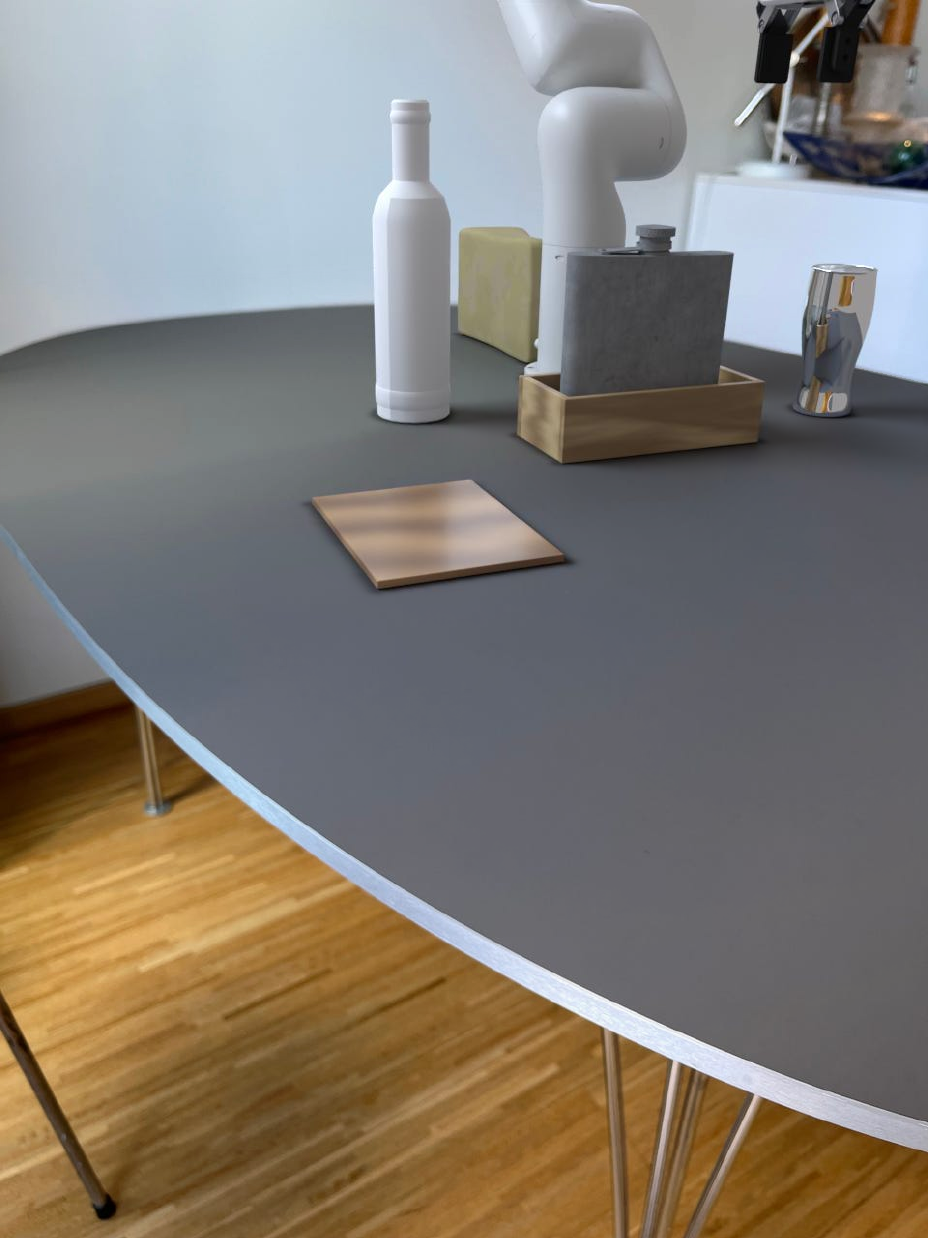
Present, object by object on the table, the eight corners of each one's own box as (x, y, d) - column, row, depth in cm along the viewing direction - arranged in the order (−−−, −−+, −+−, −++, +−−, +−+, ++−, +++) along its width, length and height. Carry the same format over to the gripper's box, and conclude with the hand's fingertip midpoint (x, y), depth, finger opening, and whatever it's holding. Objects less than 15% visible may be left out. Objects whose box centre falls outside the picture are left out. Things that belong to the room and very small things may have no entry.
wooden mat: (312, 504, 84) (311, 497, 84) (470, 485, 89) (470, 478, 89) (377, 589, 69) (377, 581, 69) (564, 562, 74) (564, 554, 74)
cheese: (569, 362, 134) (576, 240, 127) (497, 366, 132) (500, 241, 125) (520, 331, 153) (523, 223, 146) (456, 333, 151) (457, 224, 144)
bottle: (462, 410, 112) (466, 100, 99) (430, 427, 105) (429, 98, 92) (397, 401, 115) (392, 99, 102) (362, 418, 108) (352, 98, 95)
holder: (516, 435, 103) (518, 375, 101) (700, 416, 111) (707, 360, 108) (561, 464, 95) (565, 399, 92) (757, 441, 102) (766, 381, 100)
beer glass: (858, 420, 110) (885, 273, 103) (790, 416, 111) (812, 270, 105) (849, 404, 116) (874, 264, 109) (785, 400, 117) (806, 262, 111)
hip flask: (704, 430, 106) (729, 222, 97) (720, 441, 102) (746, 226, 93) (553, 435, 103) (564, 222, 95) (564, 447, 100) (576, 226, 91)
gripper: (738, -142, 89) (713, 82, 97) (863, -188, 74) (821, 80, 82) (814, -135, 91) (783, 84, 99) (949, -178, 76) (900, 83, 84)
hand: (800, 82), depth 90 cm, fingers open, 9 cm apart
